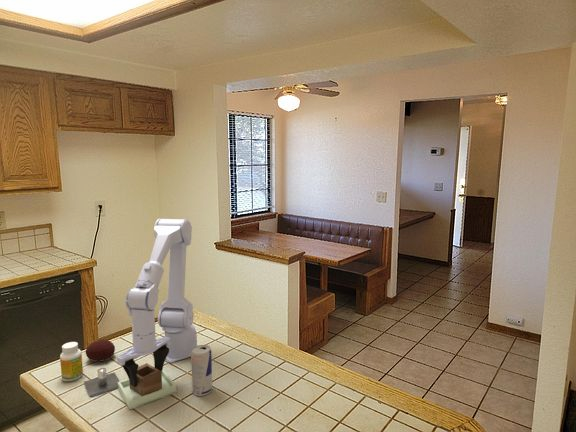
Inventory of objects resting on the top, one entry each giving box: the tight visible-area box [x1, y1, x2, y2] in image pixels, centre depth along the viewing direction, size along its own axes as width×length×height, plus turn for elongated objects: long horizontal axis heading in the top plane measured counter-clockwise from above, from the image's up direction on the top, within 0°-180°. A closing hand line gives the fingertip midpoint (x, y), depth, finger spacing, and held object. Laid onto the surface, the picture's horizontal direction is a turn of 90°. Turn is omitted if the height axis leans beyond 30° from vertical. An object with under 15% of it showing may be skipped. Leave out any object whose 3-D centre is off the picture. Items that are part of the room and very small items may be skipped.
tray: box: [117, 368, 178, 411], centre depth 106 cm, size 12×11×2 cm
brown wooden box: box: [129, 362, 162, 396], centre depth 106 cm, size 7×5×5 cm
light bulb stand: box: [83, 367, 120, 398], centre depth 108 cm, size 8×8×5 cm
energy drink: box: [190, 344, 213, 397], centre depth 105 cm, size 5×5×12 cm
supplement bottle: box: [59, 341, 84, 382], centre depth 112 cm, size 5×5×10 cm
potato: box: [85, 339, 116, 362], centre depth 122 cm, size 7×8×6 cm
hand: (146, 379), depth 105 cm, fingers open, 7 cm apart
